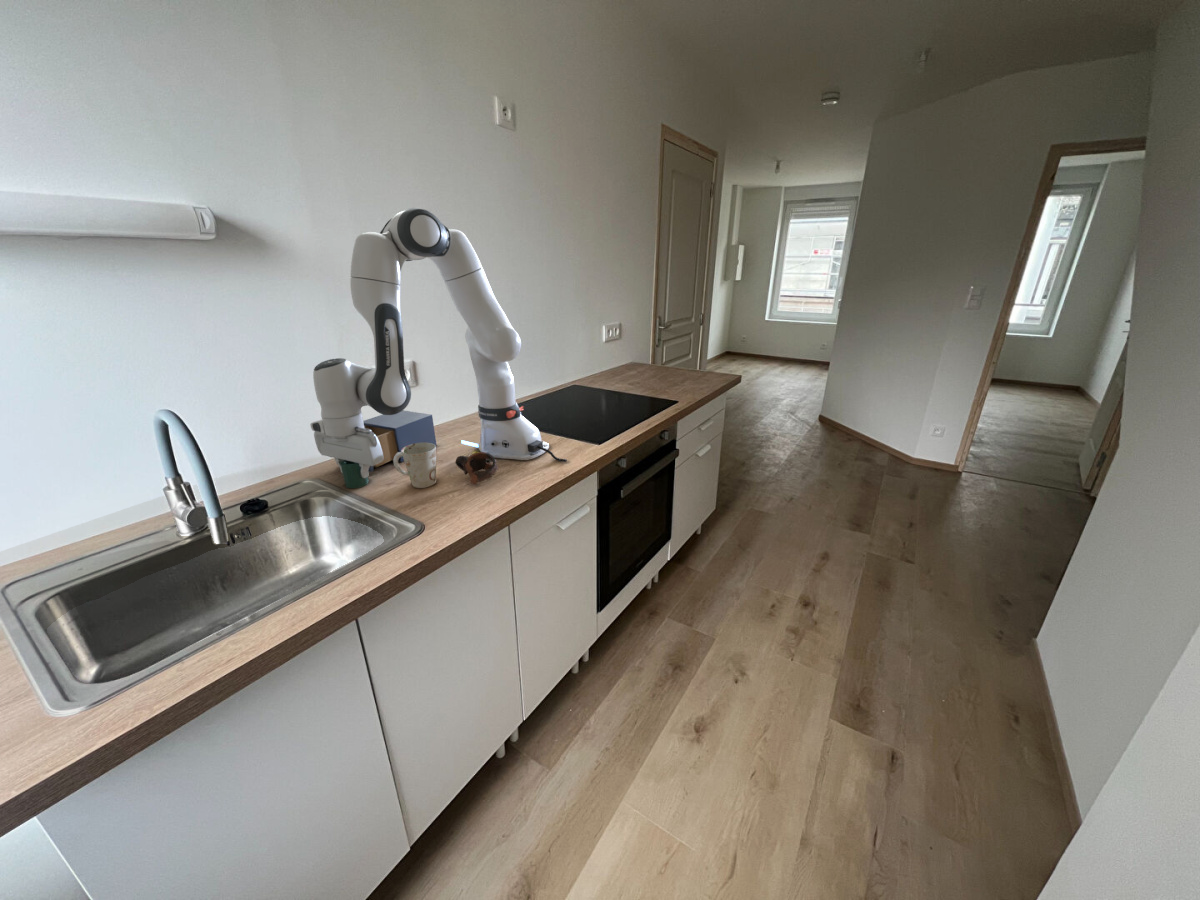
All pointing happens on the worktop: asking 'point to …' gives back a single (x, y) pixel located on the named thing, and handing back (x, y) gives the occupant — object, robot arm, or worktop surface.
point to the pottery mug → (477, 466)
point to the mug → (418, 463)
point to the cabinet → (406, 428)
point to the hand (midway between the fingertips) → (355, 474)
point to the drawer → (384, 444)
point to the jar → (352, 474)
